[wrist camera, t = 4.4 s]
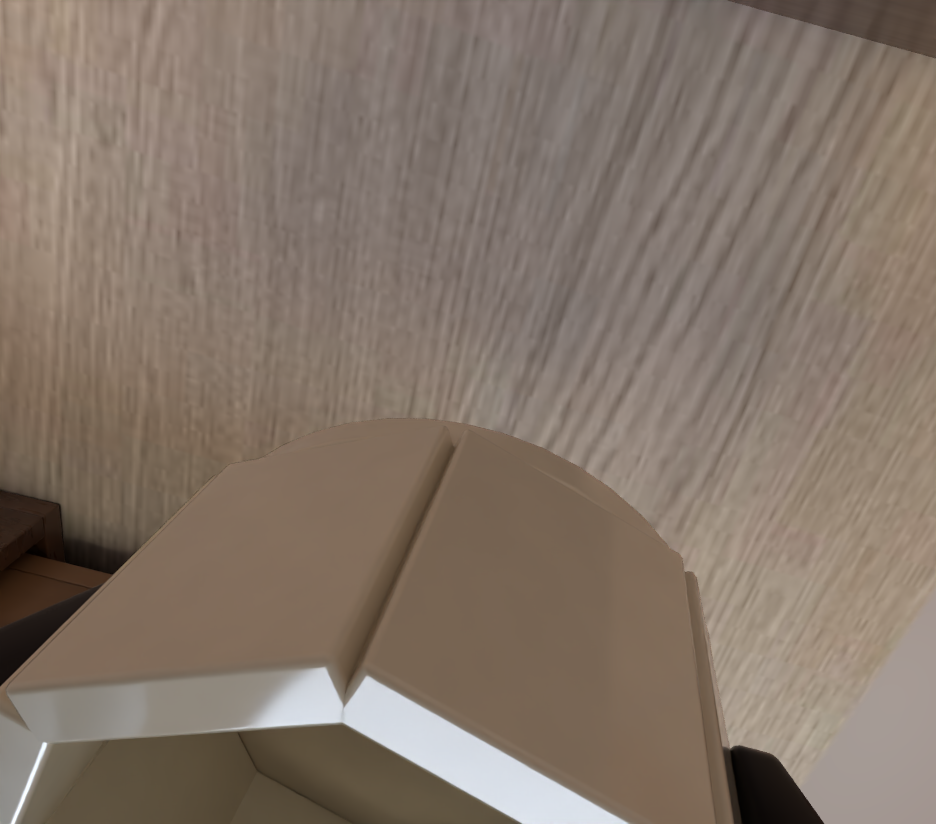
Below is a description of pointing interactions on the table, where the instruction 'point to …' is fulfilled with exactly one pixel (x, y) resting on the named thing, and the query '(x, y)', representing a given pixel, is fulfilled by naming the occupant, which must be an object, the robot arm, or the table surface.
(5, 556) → the cabinet
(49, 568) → the drawer
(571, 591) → the faceted cream cylinder
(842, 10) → the pedestal
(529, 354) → the table surface
